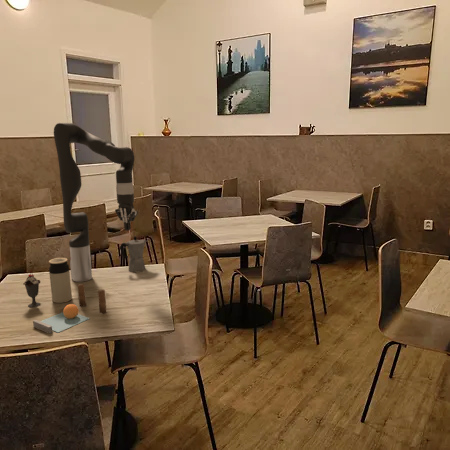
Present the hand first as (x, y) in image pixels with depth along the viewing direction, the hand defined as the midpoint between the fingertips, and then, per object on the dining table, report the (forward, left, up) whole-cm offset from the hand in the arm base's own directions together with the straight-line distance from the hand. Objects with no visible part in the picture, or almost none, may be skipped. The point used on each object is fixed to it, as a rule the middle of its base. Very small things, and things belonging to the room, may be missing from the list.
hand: (127, 230), depth 192 cm
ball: (+6, -37, -24) cm, 45 cm away
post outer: (+12, -27, -27) cm, 40 cm away
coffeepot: (-16, +18, -27) cm, 36 cm away
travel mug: (-13, -28, -27) cm, 41 cm away
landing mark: (+6, -41, -27) cm, 49 cm away
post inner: (0, -27, -27) cm, 38 cm away
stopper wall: (+6, -50, -27) cm, 57 cm away
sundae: (-18, -38, -27) cm, 50 cm away
